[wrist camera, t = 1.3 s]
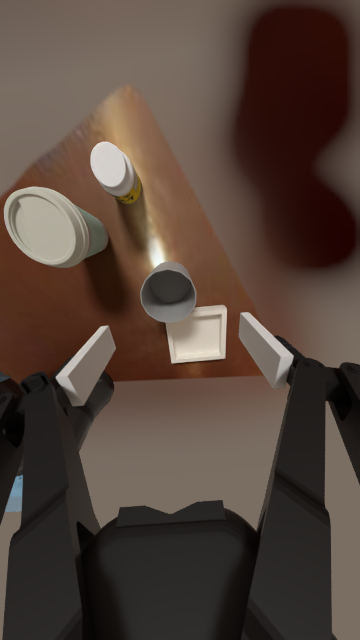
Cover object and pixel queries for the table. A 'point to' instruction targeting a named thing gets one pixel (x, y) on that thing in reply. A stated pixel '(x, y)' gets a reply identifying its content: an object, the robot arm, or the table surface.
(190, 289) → the cup
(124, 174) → the supplement bottle
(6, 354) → the table surface
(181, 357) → the tray
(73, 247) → the coffee cup
